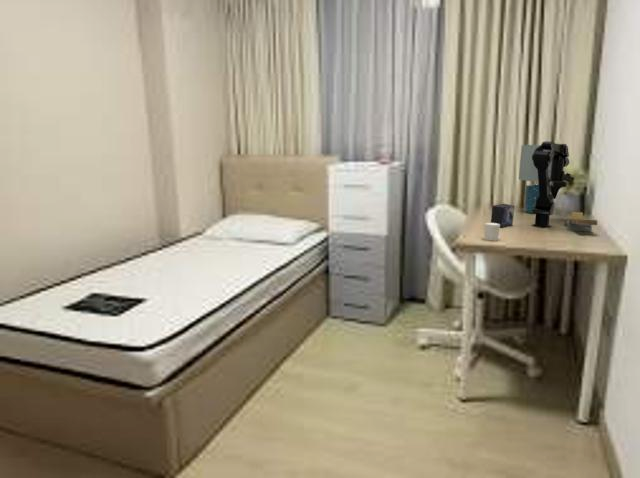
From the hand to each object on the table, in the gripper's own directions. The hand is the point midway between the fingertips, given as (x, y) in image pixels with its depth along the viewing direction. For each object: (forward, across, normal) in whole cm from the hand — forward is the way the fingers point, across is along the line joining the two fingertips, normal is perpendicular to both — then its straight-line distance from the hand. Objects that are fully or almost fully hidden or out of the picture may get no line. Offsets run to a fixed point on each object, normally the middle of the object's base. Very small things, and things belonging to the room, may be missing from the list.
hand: (554, 198), depth 279 cm
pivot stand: (+12, -20, -8) cm, 25 cm away
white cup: (+12, -51, +36) cm, 63 cm away
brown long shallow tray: (+8, -21, -8) cm, 24 cm away
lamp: (+12, +28, +4) cm, 31 cm away
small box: (+12, -18, +27) cm, 35 cm away
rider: (+9, -12, -8) cm, 17 cm away
